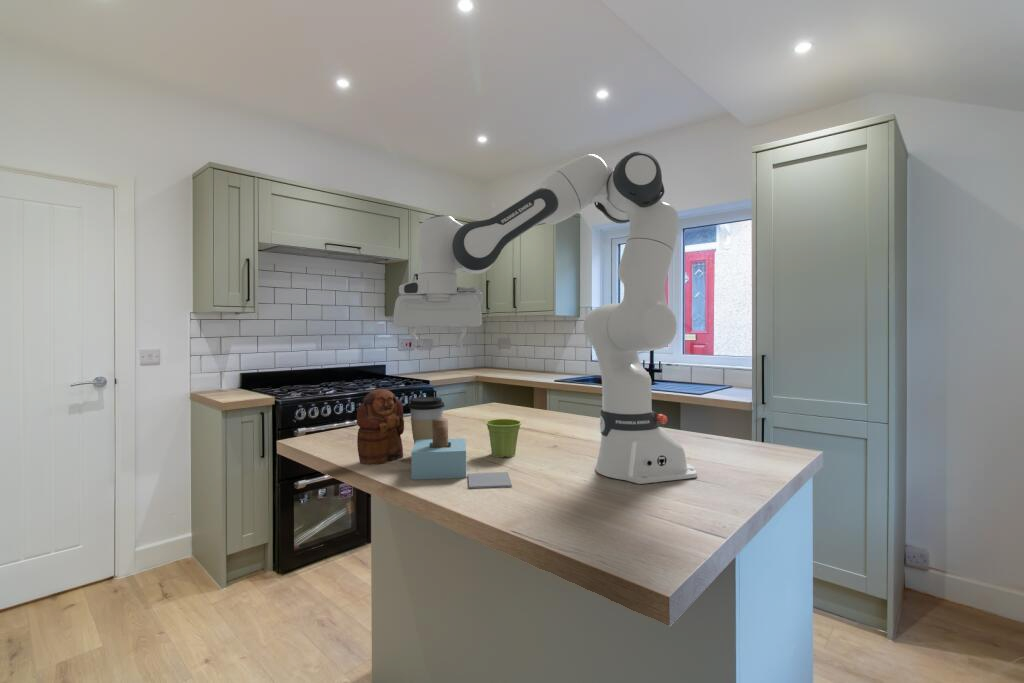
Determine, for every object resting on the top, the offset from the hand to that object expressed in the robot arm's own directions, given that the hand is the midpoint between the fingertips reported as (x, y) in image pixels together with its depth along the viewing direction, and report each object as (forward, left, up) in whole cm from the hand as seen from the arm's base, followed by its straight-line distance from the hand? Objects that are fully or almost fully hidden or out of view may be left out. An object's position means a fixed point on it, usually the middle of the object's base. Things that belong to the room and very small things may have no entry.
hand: (438, 346), depth 113 cm
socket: (0, 0, -29) cm, 29 cm away
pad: (-11, +9, -29) cm, 32 cm away
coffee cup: (+4, -13, -29) cm, 32 cm away
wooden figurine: (+15, -11, -29) cm, 35 cm away
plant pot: (-16, -12, -29) cm, 35 cm away
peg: (0, 0, -29) cm, 29 cm away
